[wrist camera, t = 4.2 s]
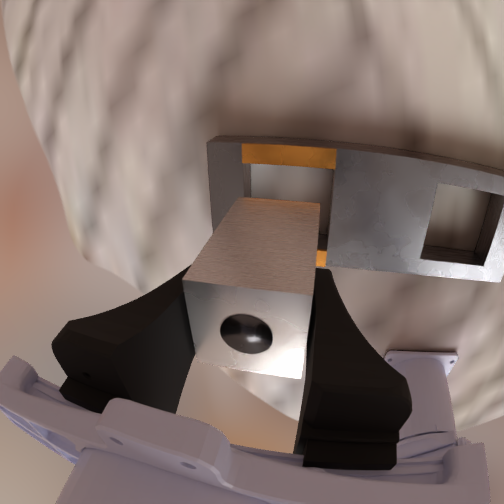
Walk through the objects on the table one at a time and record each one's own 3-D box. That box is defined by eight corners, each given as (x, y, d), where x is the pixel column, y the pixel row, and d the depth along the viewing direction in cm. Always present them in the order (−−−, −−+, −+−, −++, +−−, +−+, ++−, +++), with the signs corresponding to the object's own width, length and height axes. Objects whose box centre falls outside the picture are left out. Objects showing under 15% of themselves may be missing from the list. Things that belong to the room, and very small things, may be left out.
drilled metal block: (313, 273, 17) (300, 379, 11) (240, 265, 18) (197, 362, 12) (320, 203, 15) (312, 296, 9) (238, 197, 16) (181, 280, 10)
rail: (491, 267, 20) (500, 284, 19) (222, 240, 25) (214, 255, 23) (519, 174, 16) (534, 185, 14) (216, 135, 20) (205, 143, 18)
